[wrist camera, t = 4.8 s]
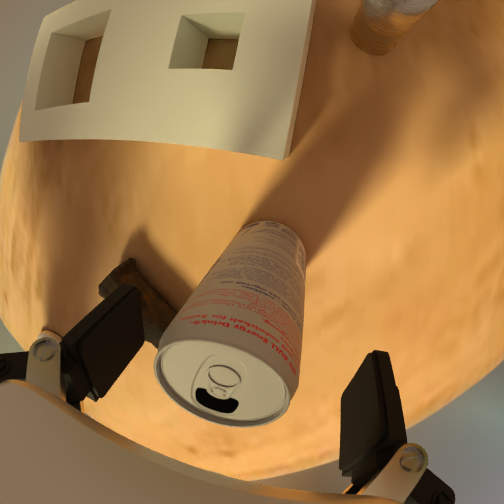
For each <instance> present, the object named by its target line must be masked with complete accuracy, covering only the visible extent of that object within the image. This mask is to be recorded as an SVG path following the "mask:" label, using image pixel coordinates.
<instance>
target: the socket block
mask: <svg viewBox="0 0 504 504" xmlns="http://www.w3.org/2000/svg"><path fill="white" fill-rule="evenodd" d="M315 7H316V0H76V1H74V2H73V3H70V4H68V5H66V6H64V7H62V8H60V9H58V10H56V11H55V12H52V13H51V14H49V15H47V16H45V17H44V19H43V22H42V24H41V27H40V30H39V34H38V37H37V40H36V43H35V47H34V50H33V54H32V58H31V62H30V67H29V71H28V75H27V80H26V86H25V91H24V98H23V105H22V112H21V122H20V134H19V142H26V141H40V140H64V139H105V140H131V141H147V142H160V143H171V144H181V145H190V146H198V147H206V148H213V149H221V150H227V151H234V152H240V153H246V154H252V155H257V156H263V157H268V158H273V159H278V160H284V159H286V158H288V157H289V152H290V147H291V142H292V136H293V131H294V126H295V121H296V115H297V110H298V105H299V99H300V94H301V89H302V83H303V77H304V72H305V66H306V61H307V55H308V49H309V43H310V37H311V32H312V26H313V20H314V13H315ZM101 36H103V39H102V43H101V47H100V50H99V54H98V59H97V63H96V67H95V72H94V77H93V82H92V88H91V94H90V100H89V102H84V103H77V104H73V98H74V91H75V86H76V80H77V75H78V70H79V66H80V61H81V57H82V53H83V49H84V45H85V42H86V41H87V40H90V39H94V38H97V37H101ZM208 39H239V42H238V46H237V51H236V56H235V61H234V65H233V70H223V69H202V66H203V61H204V57H205V52H206V48H207V44H208Z"/></svg>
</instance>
